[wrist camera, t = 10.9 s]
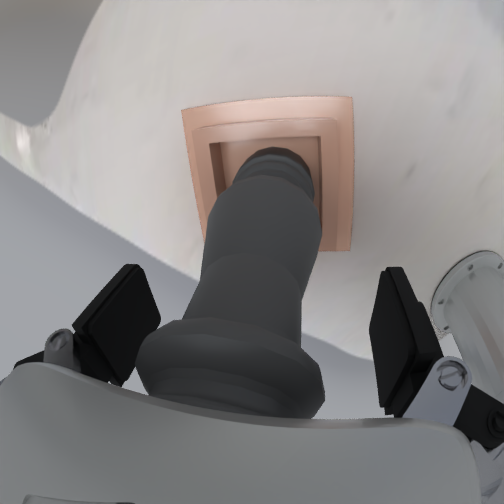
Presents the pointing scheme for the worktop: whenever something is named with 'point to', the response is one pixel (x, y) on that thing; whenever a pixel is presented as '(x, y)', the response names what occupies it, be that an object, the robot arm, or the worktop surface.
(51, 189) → the worktop surface
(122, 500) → the robot arm
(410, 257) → the worktop surface
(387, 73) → the worktop surface
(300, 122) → the square tray
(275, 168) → the candle holder
